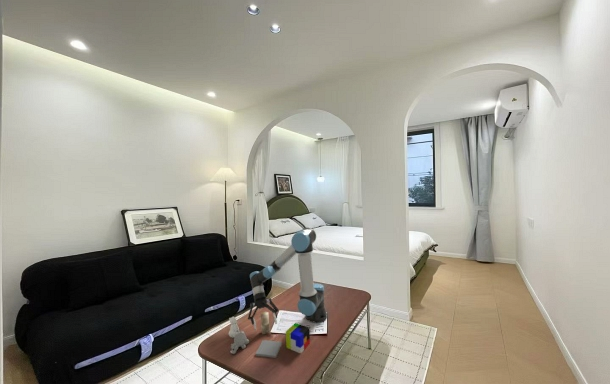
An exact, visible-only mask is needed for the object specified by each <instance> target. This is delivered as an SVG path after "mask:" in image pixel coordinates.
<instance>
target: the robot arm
mask: <svg viewBox="0 0 610 384" xmlns="http://www.w3.org/2000/svg"><path fill="white" fill-rule="evenodd" d="M316 239H317V233H316V231H315V230H314V229H313V228H311V227H304V228H302V229H301V230H298V231H297V232H295V233H294V234H293V236H292V238H291V241H290V242H291V244H290V245H289V246H288V248H286V249H285V250H284V251H283V252H282V253H281V254H280V255H278V256H277V258H276V259H275V260H273V261H272V262H271V263H270V264H269V265H267V266H266V267H264V268H263V269H261V270H260V271H257V270H256V271H253V272H251V273H250V274H249V278H250V284H251V290H252V294H253V299H254V302H251V303H250V309H249V313H248V317H247V320H250V321H251V325H253V328H254V331H257V324H256V319H255V318H254V317H255V315H256V314H257V311H258V309H265V308H266V309H268V310H269V311H270V312H272V316H273V320H274V324H275V325H277V324H278V315H277V313H278V312H279V308H278V307H277V306H276V305H275V303H274V302H273V301H272V298H268V299H267V298H266V294H265V290H264V285H263V283H266V281H267V280H269V279H272V277H273V276H275V274H276V273H278V272H279V271H281V269H282V268H283V267H285V265H287V264H288V263H289V262H290V261H291V260H292V259H293V258H294V257H295V256H297V261H298V271H299V281H300V291H299V292H298V294H299V295H298V296H299V300H298V303H297V309H298V311H299V312H300V314H302V315H303V316H305V318H306V320H307V321H309V322H311V323H322V322H324V321H325V320H327V319H328V312H327V309H326V305H325V286H324V285H323V284H321V283H315V282H314V274H313V273H314V272H313V263H312V252H313V251H314V247H313V245H314V243H315V241H316ZM268 303H269V304H268ZM254 306H255V309H254V311H253V308H254ZM252 311H253V313H252Z"/></svg>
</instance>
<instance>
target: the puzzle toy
mask: <svg viewBox="0 0 610 384" xmlns="http://www.w3.org/2000/svg"><path fill="white" fill-rule="evenodd" d="M310 331H311V330H310V327H309V326H307V325H303V324H301V323H297V322H295V323H294V324H292V325H291V326H290V327H289V328H288V329H287V330H286V331H285V341H286V344H285V345H286V349H289V350H291V351H294V352H296V353H298V354H302V353H303V352H304V351H305V349H306V348H307V347H308V346H309V345H310V342H311V339H310V338H311V336H310V335H311V334H310Z"/></svg>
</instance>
